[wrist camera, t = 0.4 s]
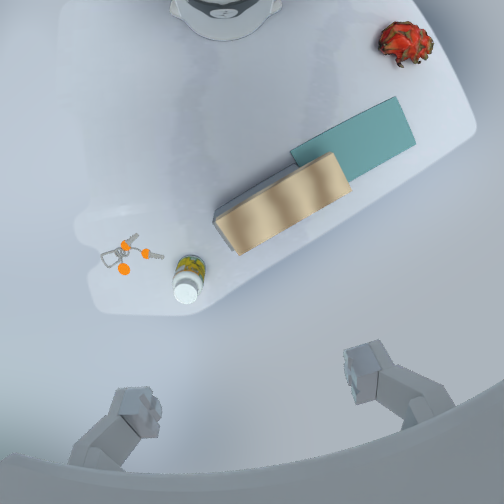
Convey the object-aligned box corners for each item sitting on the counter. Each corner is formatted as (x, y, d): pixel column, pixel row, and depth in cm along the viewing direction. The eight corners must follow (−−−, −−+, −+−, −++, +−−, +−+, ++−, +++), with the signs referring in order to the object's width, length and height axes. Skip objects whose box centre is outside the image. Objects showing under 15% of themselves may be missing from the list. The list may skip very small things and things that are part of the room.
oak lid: (327, 150, 44) (333, 152, 42) (345, 186, 47) (352, 190, 44) (216, 215, 47) (215, 221, 45) (238, 248, 50) (239, 256, 47)
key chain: (115, 280, 58) (113, 282, 58) (97, 250, 56) (95, 252, 55) (166, 259, 57) (166, 261, 56) (149, 225, 54) (148, 227, 53)
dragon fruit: (419, 48, 43) (368, 55, 46) (418, 12, 36) (362, 18, 38) (443, 68, 39) (388, 76, 42) (444, 29, 32) (385, 35, 34)
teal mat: (394, 96, 46) (395, 96, 46) (415, 143, 50) (416, 144, 49) (290, 151, 50) (290, 151, 50) (317, 199, 54) (317, 200, 53)
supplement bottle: (172, 264, 57) (162, 290, 49) (193, 249, 56) (186, 273, 48) (190, 284, 59) (183, 312, 51) (211, 270, 58) (208, 297, 49)
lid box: (294, 163, 51) (302, 169, 44) (309, 190, 53) (319, 200, 47) (214, 210, 53) (212, 223, 47) (232, 235, 56) (232, 251, 49)
